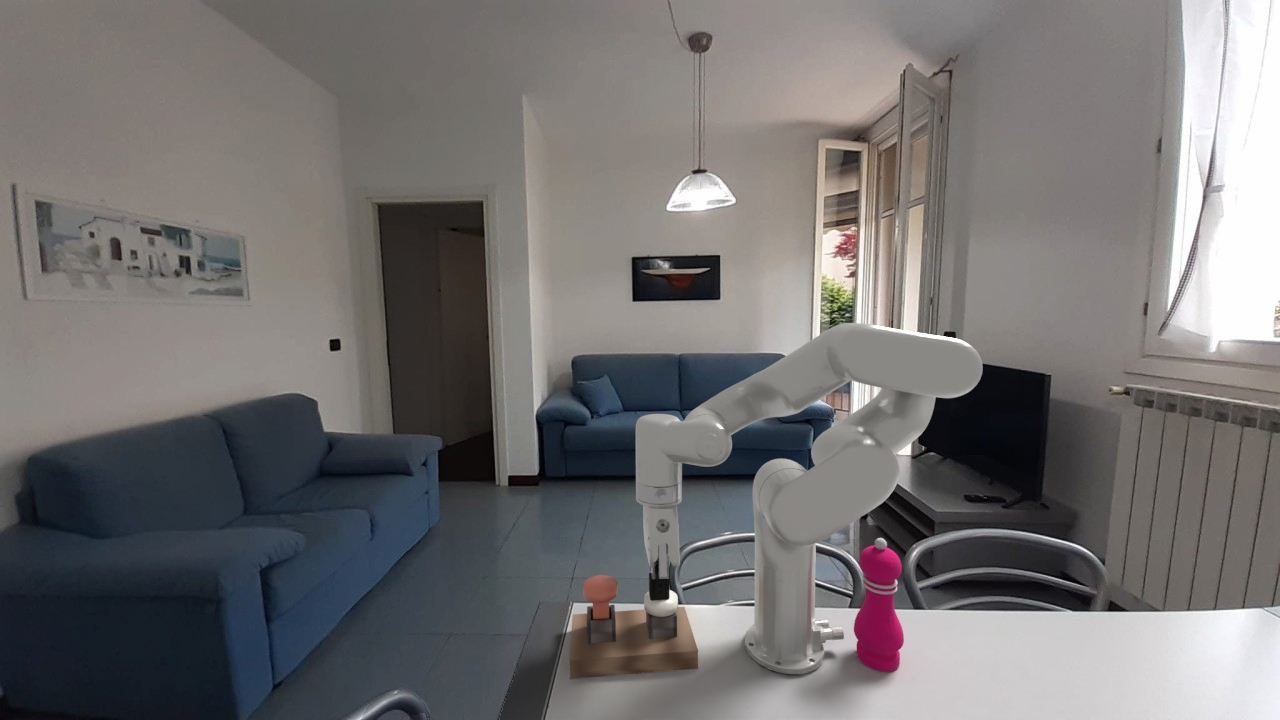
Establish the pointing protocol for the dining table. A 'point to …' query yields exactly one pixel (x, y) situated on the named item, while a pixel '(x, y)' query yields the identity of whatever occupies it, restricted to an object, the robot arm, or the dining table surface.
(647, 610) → the cream button
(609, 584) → the red button
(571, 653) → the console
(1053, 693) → the dining table surface
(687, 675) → the dining table surface
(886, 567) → the pepper mill
